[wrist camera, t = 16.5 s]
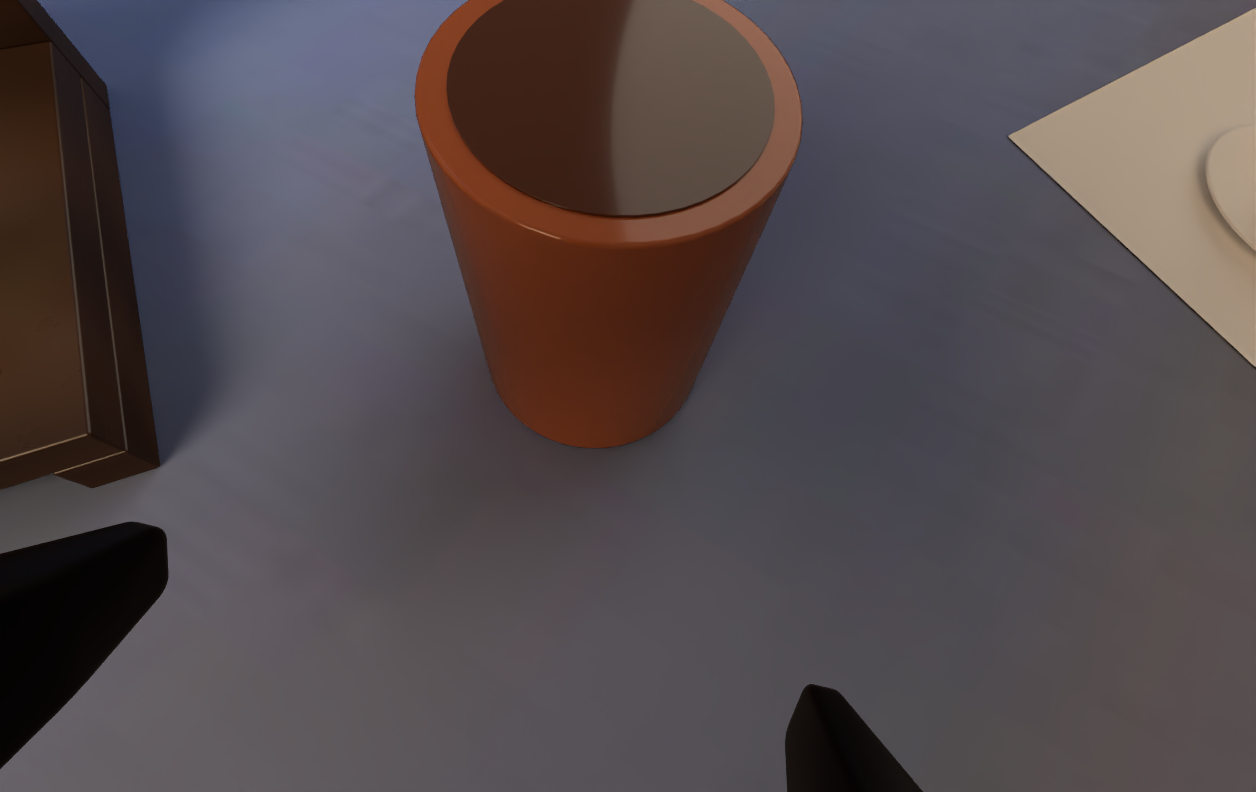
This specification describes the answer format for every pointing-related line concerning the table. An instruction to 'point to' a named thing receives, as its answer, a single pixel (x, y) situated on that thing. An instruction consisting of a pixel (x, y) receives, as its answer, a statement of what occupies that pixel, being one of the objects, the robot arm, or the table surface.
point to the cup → (603, 193)
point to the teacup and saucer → (1173, 170)
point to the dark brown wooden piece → (64, 270)
